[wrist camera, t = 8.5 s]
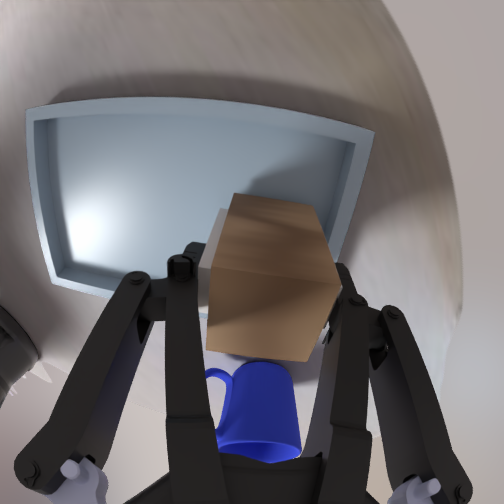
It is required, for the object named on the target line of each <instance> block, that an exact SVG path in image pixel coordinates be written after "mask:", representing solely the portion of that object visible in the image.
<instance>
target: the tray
mask: <svg viewBox="0 0 504 504" xmlns="http://www.w3.org/2000/svg"><path fill="white" fill-rule="evenodd" d="M374 136H375V132H374V131H371V130H368V129H366V128H363V127H360V126H356V125H353V124H349V123H346V122H342V121H338V120H334V119H330V118H326V117H322V116H318V115H313V114H309V113H304V112H299V111H294V110H289V109H283V108H278V107H272V106H266V105H259V104H252V103H245V102H237V101H228V100H218V99H206V98H190V97H161V96H142V97H113V98H98V99H87V100H78V101H69V102H62V103H55V104H49V105H43V106H39V107H34V108H30V109H26V148H27V162H28V173H29V181H30V189H31V196H32V202H33V208H34V214H35V219H36V224H37V229H38V233H39V238H40V242H41V246H42V250H43V254H44V258H45V262H46V265H47V269H48V272H49V275H50V279H51V282H52V284H56V285H59V286H63V287H66V288H70V289H73V290H77V291H81V292H85V293H88V294H92V295H96V296H100V297H104V298H109V299H111V297H112V295H113V294H114V292H115V290H116V289H117V287H118V285H119V284H120V282H121V281H122V279H123V277H124V276H125V275H126V274H128V273H130V272H132V271H143V272H146V273H147V274H149V276H150V278H151V279H163V278H166V277H167V261H168V259H169V258H170V257H171V256H173V255H176V254H183V252H184V250H185V247H186V245H188V244H189V243H191V242H192V241H193V242H200V243H206V244H207V241H208V239H209V236H210V233H211V231H212V228H213V225H214V223H215V220H216V218H217V215H218V212H219V210H220V208H223V209H229V206H230V203H231V200H232V197H233V194H234V193H240V194H247V195H253V196H260V197H266V198H272V199H278V200H284V201H290V202H295V203H301V204H307V205H312V206H313V207H314V209H315V212H316V215H317V217H318V220H319V222H320V225H321V227H322V230H323V233H324V235H325V238H326V241H327V244H328V246H329V249H330V252H331V255H332V258H333V261H334V262H335V263H337V260H338V257H339V254H340V251H341V249H342V246H343V243H344V240H345V237H346V234H347V231H348V228H349V225H350V221H351V218H352V215H353V212H354V209H355V205H356V202H357V199H358V195H359V192H360V189H361V185H362V182H363V178H364V174H365V171H366V167H367V163H368V160H369V156H370V152H371V148H372V144H373V140H374ZM199 317H202V318H207V319H208V314H206V313H200V312H199Z"/></svg>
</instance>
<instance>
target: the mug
mask: <svg viewBox="0 0 504 504" xmlns="http://www.w3.org/2000/svg"><path fill="white" fill-rule="evenodd" d="M205 375H206V379H207V378H208V377H211V376H213V377H218V378H220V379H222V380H223V381H224V382H225V383H226V395H225V400H224V406H223V411H222V415H221V419H220V422H219V425H218V427H217V429H215V432H216V438H217V444H218V449H219V452H222V453H230V454H240V455H243V456H246V457H249V458H252V459H256V460H259V461H263V462H266V463H275V462H280V461H285V460H289V459H293V458H295V457H297V456H298V455H299V454H301V451H302V447H301V439H300V431H299V424H298V417H297V409H296V402H295V395H294V388H293V382H292V379H291V376H290V374H289V373H288V371H287V370H286V369H284V368H283V367H281V366H279V365H277V364H274V363H269V362H252V363H248V364H245V365H243V366H241V367H239V368H238V369H237V370H236V371H235V372H234V374H233V375H232V377H231V376H230V375H229V374H228V373H227V372H225V371H224V370H221V369H218V368H210V369H207V370H206V371H205Z"/></svg>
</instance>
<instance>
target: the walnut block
mask: <svg viewBox="0 0 504 504" xmlns="http://www.w3.org/2000/svg"><path fill="white" fill-rule="evenodd" d="M340 287H341V282H340V279H339V276H338V273H337V270H336V267H335V264H334V261H333V258H332V255H331V252H330V250H329V247H328V244H327V241H326V239H325V236H324V233H323V230H322V228H321V225H320V222H319V220H318V217H317V215H316V212H315V209H314V207H313V206H312V205H307V204H301V203H295V202H290V201H284V200H278V199H272V198H266V197H260V196H253V195H247V194H240V193H234V194H233V197H232V200H231V203H230V206H229V210H228V213H227V216H226V219H225V222H224V225H223V229H222V232H221V235H220V238H219V242H218V245H217V248H216V252H215V255H214V258H213V262H212V265H211V274H210V288H209V303H208V319H207V337H206V350H209V351H215V352H221V353H228V354H235V355H242V356H250V357H258V358H267V359H277V360H287V361H299V362H307V361H308V359H309V356H310V354H311V352H312V350H313V348H314V346H315V344H316V342H317V340H318V338H319V335H320V333H321V331H322V329H323V327H324V325H325V322H326V320H327V318H328V316H329V313H330V311H331V309H332V306H333V304H334V302H335V299H336V297H337V294H338V292H339V290H340Z"/></svg>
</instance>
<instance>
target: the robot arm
mask: <svg viewBox="0 0 504 504" xmlns="http://www.w3.org/2000/svg"><path fill="white" fill-rule="evenodd" d="M228 210H229V209H223V208H220V210H219V212H218V215H217V218H216V220H215V223H214V225H213V228H212V231H211V233H210V236H209V239H208V241H207V244H206V243H200V242H193V241H192V242H191V243H189V244H188V245H186V247H185V250H184V252H183V254H176V255H173V256H171V257H170V258H169V259H168V261H167V277H166V278H163V279H151V278H150V276H149V274H147V273H146V272H143V271H132V272H130V273H128V274H126V275H125V276H124V277H123V279H122V281H121V282H120V284H119V285H118V287H117V289H116V290H115V292H114V294H113V295H112V297H111V299H110V300H109V302H108V304H107V305H106V307H105V309H104V310H103V312H102V314H101V316H100V317H99V319H98V321H97V323H96V324H95V326H94V328H93V330H92V332H91V333H90V335H89V337H88V339H87V341H86V343H85V345H84V346H83V348H82V350H81V352H80V354H79V356H78V358H77V360H76V362H75V364H74V366H73V368H72V370H71V372H70V374H69V376H68V378H67V380H66V382H65V385H64V387H63V389H62V391H61V393H60V396H59V398H58V400H57V402H56V404H55V407H54V409H53V412H52V414H51V416H50V419H49V421H48V422H47V423H46V424H45V426H44V427H43V428H42V429H41V430H40V431H39V432H38V433H37V434H36V435H35V437H34V438H33V439H32V440H31V441H30V442H29V443H28V444H27V445H26V446H25V447H24V449H23V450H22V451H21V452H20V453H19V454H18V456H17V457H16V459H15V461H14V471H15V474H16V477H17V478H18V480H19V481H20V483H22V484H23V485H24V486H25V487H26V488H29V489H31V490H33V491H35V492H38V493H41V494H43V495H45V496H46V497H47V498H48V499H49V500H50V501H51V502H53V503H54V504H106V501H105V495H106V492H107V489H108V480H107V477H106V475H105V474H104V472H103V471H102V469H103V467H104V465H105V463H106V461H107V459H108V456H109V453H110V450H111V447H112V444H113V440H114V437H115V433H116V430H117V427H118V424H119V421H120V417H121V414H122V411H123V408H124V405H125V402H126V399H127V396H128V393H129V390H130V387H131V384H132V381H133V378H134V376H135V373H136V370H137V367H138V364H139V362H140V359H141V356H142V353H143V351H144V348H145V345H146V343H147V340H148V337H149V335H150V332H151V330H152V327H153V325H154V321H165V389H166V414H167V415H166V439H167V451H168V462H169V472H168V473H167V474H165V475H164V476H163V477H161V478H160V479H159V480H157V481H156V482H155V483H153V484H152V485H150V486H149V487H147V488H146V489H144V490H143V491H141V492H140V493H139V494H137V495H136V496H134V497H133V498H131V499H130V500H128V501H126V502H125V503H124V504H379V503H378V502H377V501H376V500H375V499H374V498H373V497H372V496H371V495H370V494H369V493H368V492H367V491H366V486H367V481H368V473H369V466H370V458H371V448H372V434H371V432H370V431H367V429H366V421H367V407H368V387H369V379H370V383H371V387H372V392H373V396H374V401H375V406H376V410H377V415H378V420H379V426H380V431H381V437H382V442H383V448H384V454H385V461H386V467H387V473H388V477H389V481H390V484H391V488H392V490H393V494H392V496H391V497H390V498H389V500H388V502H387V504H467V503H468V502H469V501H470V499H471V497H472V494H473V487H472V484H471V482H470V480H469V478H468V476H467V475H466V473H465V471H464V469H463V467H462V466H461V464H460V462H459V461H458V459H457V457H456V455H455V454H454V452H453V450H452V447H451V443H450V439H449V436H448V432H447V429H446V425H445V422H444V418H443V415H442V412H441V409H440V405H439V402H438V399H437V396H436V393H435V391H434V388H433V385H432V382H431V379H430V377H429V374H428V371H427V369H426V366H425V363H424V361H423V358H422V356H421V353H420V351H419V348H418V346H417V344H416V341H415V339H414V336H413V334H412V332H411V330H410V327H409V325H408V323H407V321H406V318H405V316H404V314H403V313H402V311H401V310H399V309H398V308H397V307H395V306H391V305H386V306H384V307H383V308H382V310H381V311H379V310H377V309H374V308H371V307H369V306H368V303H367V301H366V300H365V298H364V297H362V296H361V295H359V294H357V291H356V288H355V286H354V283H353V281H352V278H351V276H350V273H349V270H348V269H347V267H346V266H345V265H344V264H342V263H335V262H334V264H335V267H336V270H337V273H338V276H339V279H340V282H341V287H340V290H339V292H338V294H337V297H336V299H335V302H334V304H333V306H332V309H331V311H330V313H329V316H328V318H327V320H326V322H325V325H324V327H323V329H325V327H326V325H327V323H328V321H329V326H330V328H329V330H328V332H327V334H326V336H325V338H324V340H323V342H322V344H324V343H325V348H324V354H323V360H322V366H321V372H320V377H319V383H318V388H317V393H316V398H315V403H314V408H313V413H312V417H311V422H310V426H309V431H308V435H307V439H306V444H305V447H304V450H303V452H302V454H301V456H300V457H298V458H294V459H289V460H285V461H280V462H275V463H266V462H263V461H259V460H256V459H252V458H249V457H246V456H243V455H240V454H230V453H222V452H219V449H218V444H217V438H216V432H215V426H214V421H213V418H212V416H211V411H210V405H209V398H208V390H207V383H206V375H205V367H204V359H203V350H202V341H201V331H200V321H199V312H200V313H206V314H208V303H209V288H210V274H211V265H212V262H213V258H214V255H215V252H216V248H217V245H218V242H219V238H220V235H221V232H222V229H223V225H224V222H225V219H226V216H227V213H228ZM321 228H322V227H321ZM324 236H325V235H324ZM325 239H326V238H325ZM328 247H329V246H328ZM329 250H330V249H329ZM387 346H388V347H387ZM37 360H38V353H37V351H36V348H35V347H34V345H33V343H32V341H31V340H30V338H29V337H28V336H27V334H26V333H25V332H24V330H23V329H22V328H21V327H20V326H19V324H18V323H17V322H16V321H15V320H14V319H13V318H12V317H11V316H10V315H9V314H8V313H7V312H6V311H5V310H4V309H3V308H2V307H0V408H1V405H2V404H3V402H4V400H5V397H6V395H7V393H8V392H9V390H10V388H11V386H12V385H13V384H14V383H15V382H16V381H17V380H18V379H20V378H21V377H22V376H23V375H24V374H25V373H26V372H27V371H30V370H31V369H32V368H33V367H34V365H35V363H36V362H37Z"/></svg>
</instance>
